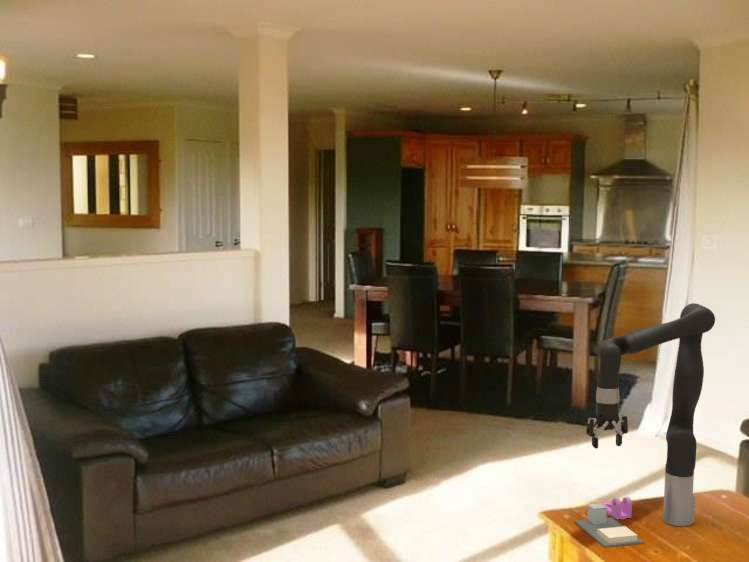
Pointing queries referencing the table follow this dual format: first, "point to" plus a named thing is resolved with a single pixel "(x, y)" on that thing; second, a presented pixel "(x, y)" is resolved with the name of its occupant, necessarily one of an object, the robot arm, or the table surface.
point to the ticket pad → (594, 531)
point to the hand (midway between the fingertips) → (606, 446)
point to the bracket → (619, 508)
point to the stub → (597, 514)
